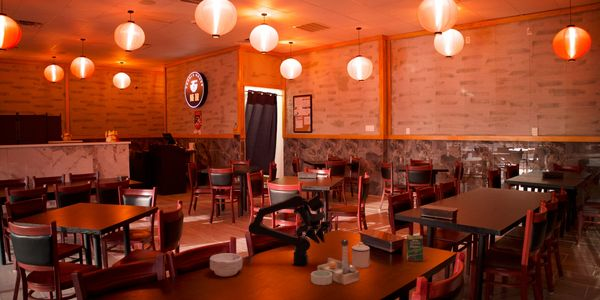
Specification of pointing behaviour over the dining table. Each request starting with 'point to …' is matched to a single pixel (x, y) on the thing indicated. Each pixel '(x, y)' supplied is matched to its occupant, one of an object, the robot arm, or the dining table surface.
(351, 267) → the lever
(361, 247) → the teacup with lid
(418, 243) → the coffee box
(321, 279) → the small white bowl
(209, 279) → the dining table surface
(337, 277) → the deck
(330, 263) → the ball
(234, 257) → the paper bowls
